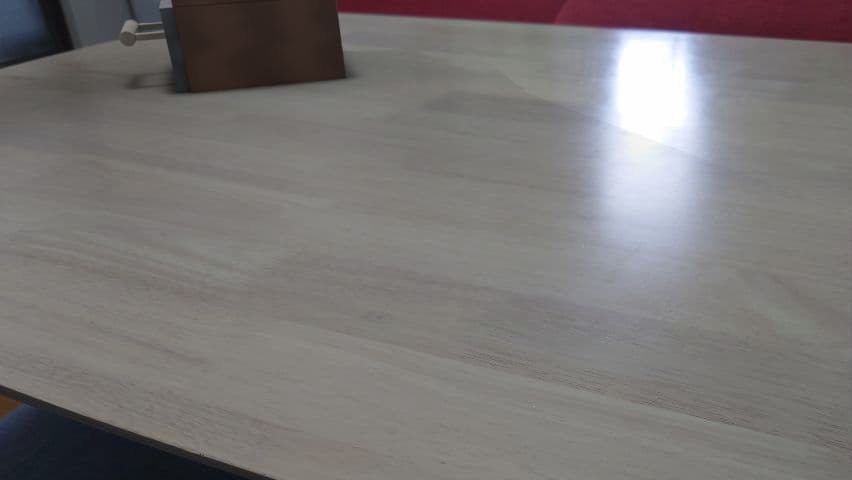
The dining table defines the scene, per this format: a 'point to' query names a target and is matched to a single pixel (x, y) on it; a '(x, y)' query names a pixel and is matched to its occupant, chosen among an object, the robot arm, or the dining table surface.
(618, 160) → the dining table surface
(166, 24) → the drawer
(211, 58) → the cabinet
